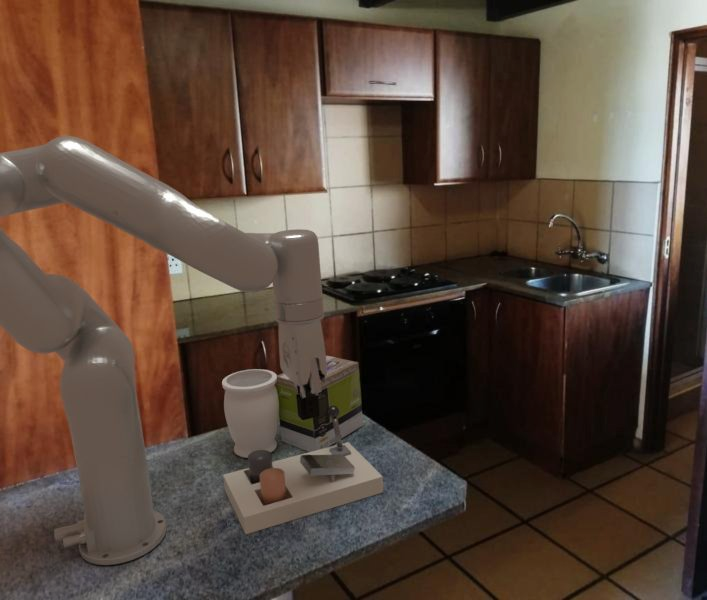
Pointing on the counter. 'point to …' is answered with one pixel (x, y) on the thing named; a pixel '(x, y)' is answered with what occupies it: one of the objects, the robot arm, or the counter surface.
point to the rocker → (327, 464)
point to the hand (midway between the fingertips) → (308, 416)
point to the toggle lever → (335, 424)
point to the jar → (251, 410)
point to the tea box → (322, 407)
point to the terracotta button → (272, 485)
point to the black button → (259, 464)
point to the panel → (301, 490)
